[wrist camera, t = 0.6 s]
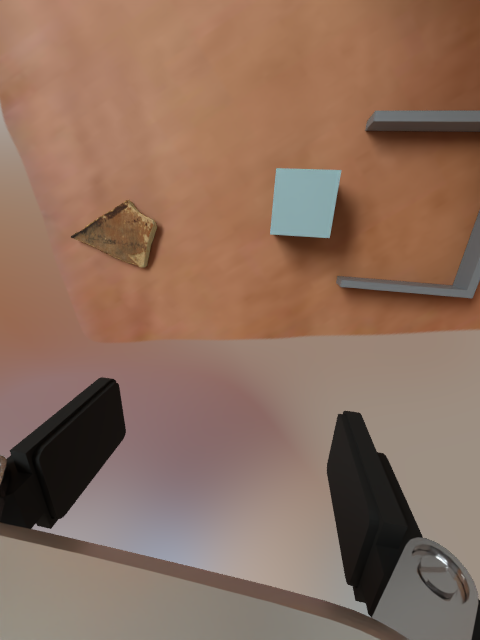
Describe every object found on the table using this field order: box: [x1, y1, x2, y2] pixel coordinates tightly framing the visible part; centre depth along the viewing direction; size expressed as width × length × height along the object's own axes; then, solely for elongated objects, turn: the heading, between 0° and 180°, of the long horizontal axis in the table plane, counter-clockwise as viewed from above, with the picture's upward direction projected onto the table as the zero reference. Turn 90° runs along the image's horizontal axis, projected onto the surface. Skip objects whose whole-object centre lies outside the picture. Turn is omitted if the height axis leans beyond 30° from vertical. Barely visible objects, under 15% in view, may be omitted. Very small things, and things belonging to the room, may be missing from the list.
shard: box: [71, 200, 157, 268], centre depth 33 cm, size 11×8×2 cm
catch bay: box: [336, 111, 480, 298], centre depth 27 cm, size 17×14×2 cm
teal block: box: [270, 168, 341, 238], centre depth 27 cm, size 6×6×5 cm
